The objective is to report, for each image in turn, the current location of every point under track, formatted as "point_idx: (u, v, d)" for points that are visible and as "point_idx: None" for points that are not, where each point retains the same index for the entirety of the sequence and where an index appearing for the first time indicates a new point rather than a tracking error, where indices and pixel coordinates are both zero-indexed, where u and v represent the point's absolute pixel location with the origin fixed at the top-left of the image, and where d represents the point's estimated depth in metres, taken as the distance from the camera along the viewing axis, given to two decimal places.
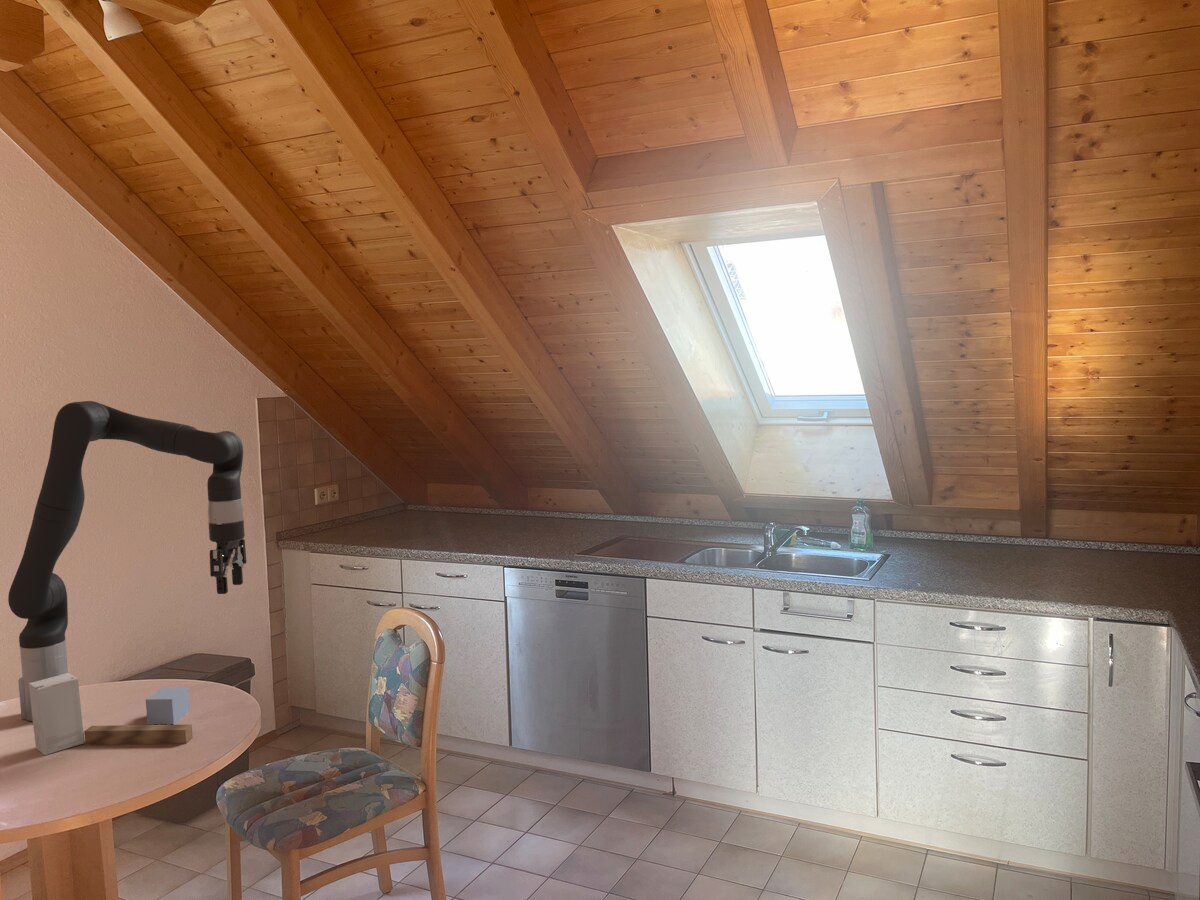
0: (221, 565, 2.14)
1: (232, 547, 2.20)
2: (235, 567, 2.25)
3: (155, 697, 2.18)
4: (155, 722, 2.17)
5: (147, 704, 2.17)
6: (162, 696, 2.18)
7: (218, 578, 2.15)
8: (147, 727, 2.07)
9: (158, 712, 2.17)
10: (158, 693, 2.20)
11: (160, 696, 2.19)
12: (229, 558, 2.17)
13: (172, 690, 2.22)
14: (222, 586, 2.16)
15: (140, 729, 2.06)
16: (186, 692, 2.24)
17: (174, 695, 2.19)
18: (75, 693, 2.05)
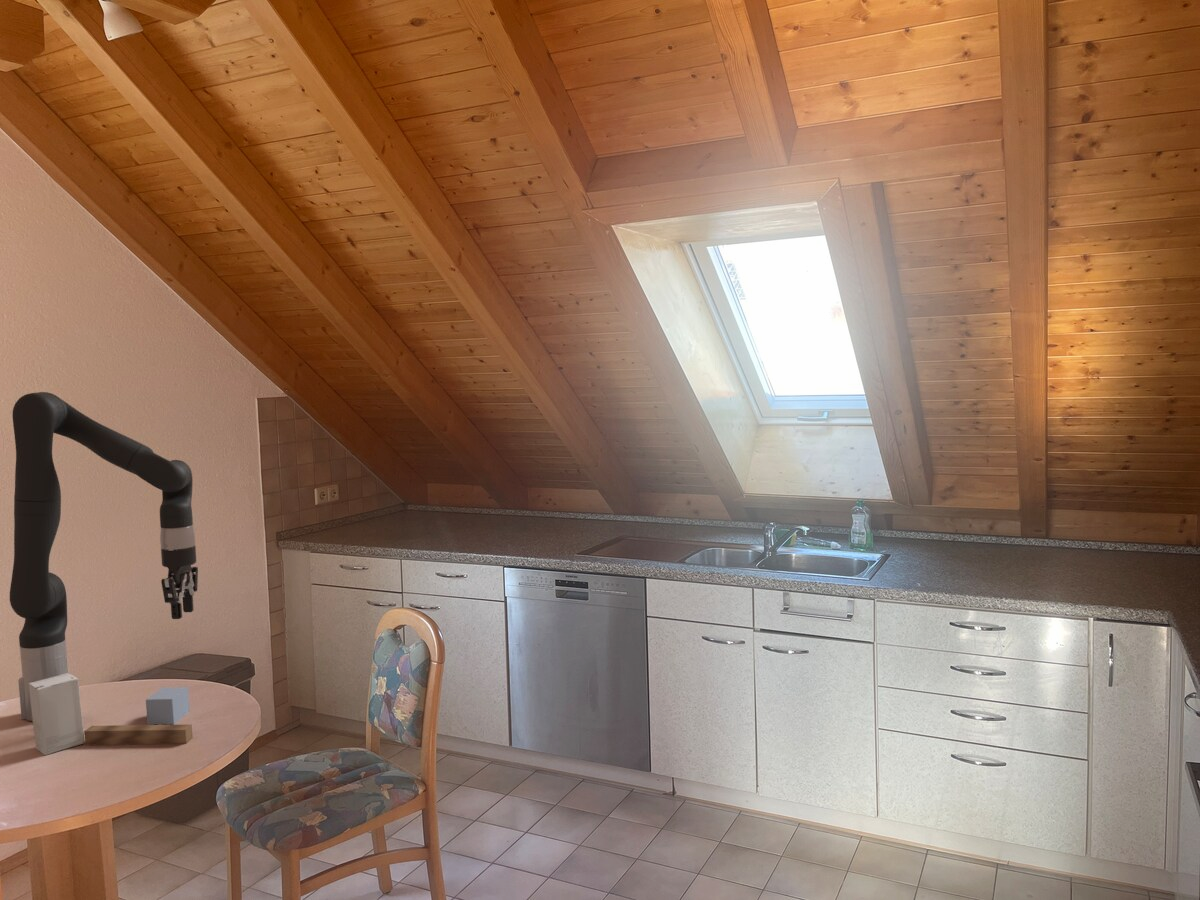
0: (174, 592, 2.23)
1: (184, 572, 2.28)
2: (186, 595, 2.31)
3: (155, 697, 2.18)
4: (155, 722, 2.17)
5: (147, 704, 2.17)
6: (162, 696, 2.18)
7: (172, 604, 2.25)
8: (147, 727, 2.07)
9: (158, 712, 2.17)
10: (158, 693, 2.20)
11: (160, 696, 2.19)
12: (181, 584, 2.26)
13: (172, 690, 2.22)
14: (176, 611, 2.25)
15: (140, 729, 2.06)
16: (186, 692, 2.24)
17: (174, 695, 2.19)
18: (75, 693, 2.05)
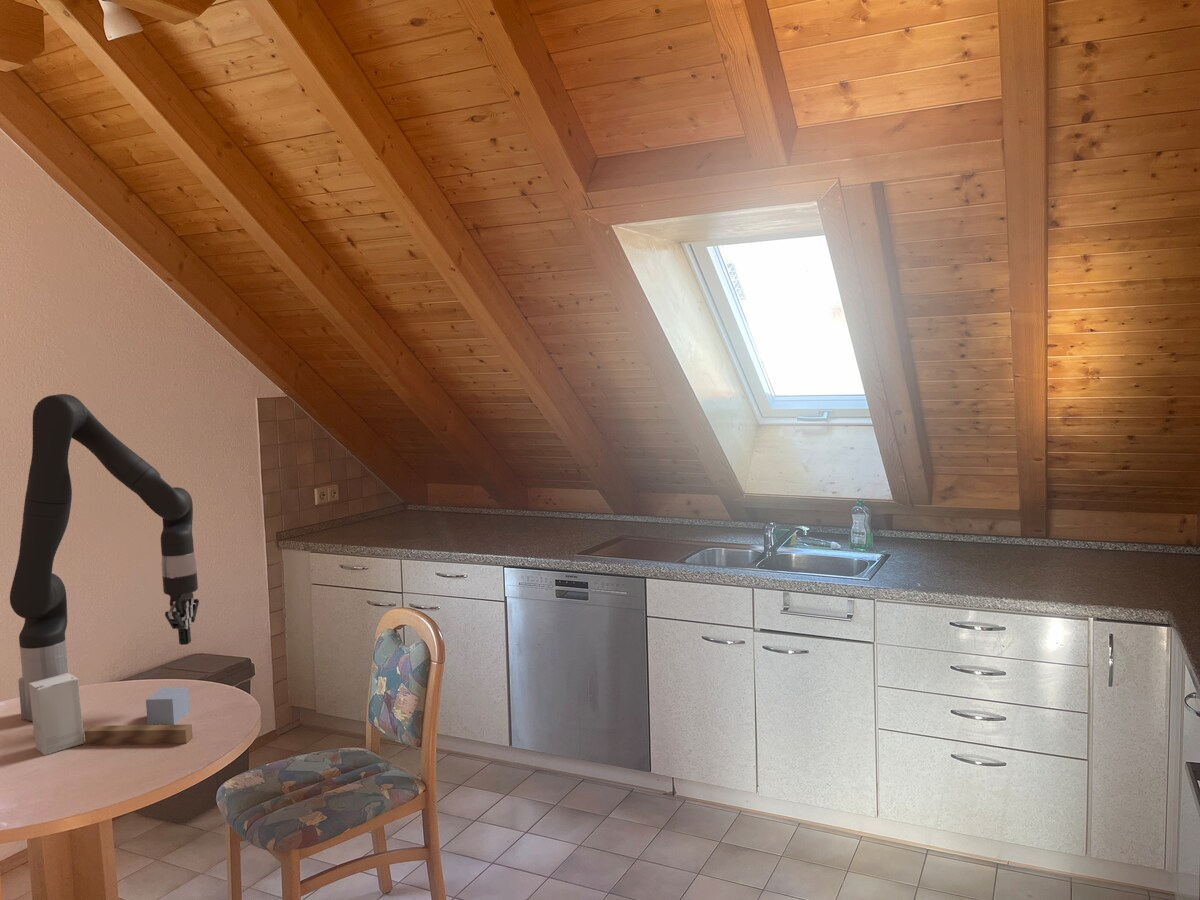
0: (180, 621, 2.25)
1: (186, 599, 2.28)
2: None
3: (155, 697, 2.18)
4: (155, 722, 2.17)
5: (147, 704, 2.17)
6: (162, 696, 2.18)
7: (180, 630, 2.28)
8: (147, 727, 2.07)
9: (159, 712, 2.17)
10: (158, 693, 2.20)
11: (160, 696, 2.19)
12: (185, 612, 2.27)
13: (172, 690, 2.22)
14: (184, 637, 2.28)
15: (140, 729, 2.06)
16: (186, 692, 2.24)
17: (174, 695, 2.19)
18: (75, 694, 2.05)
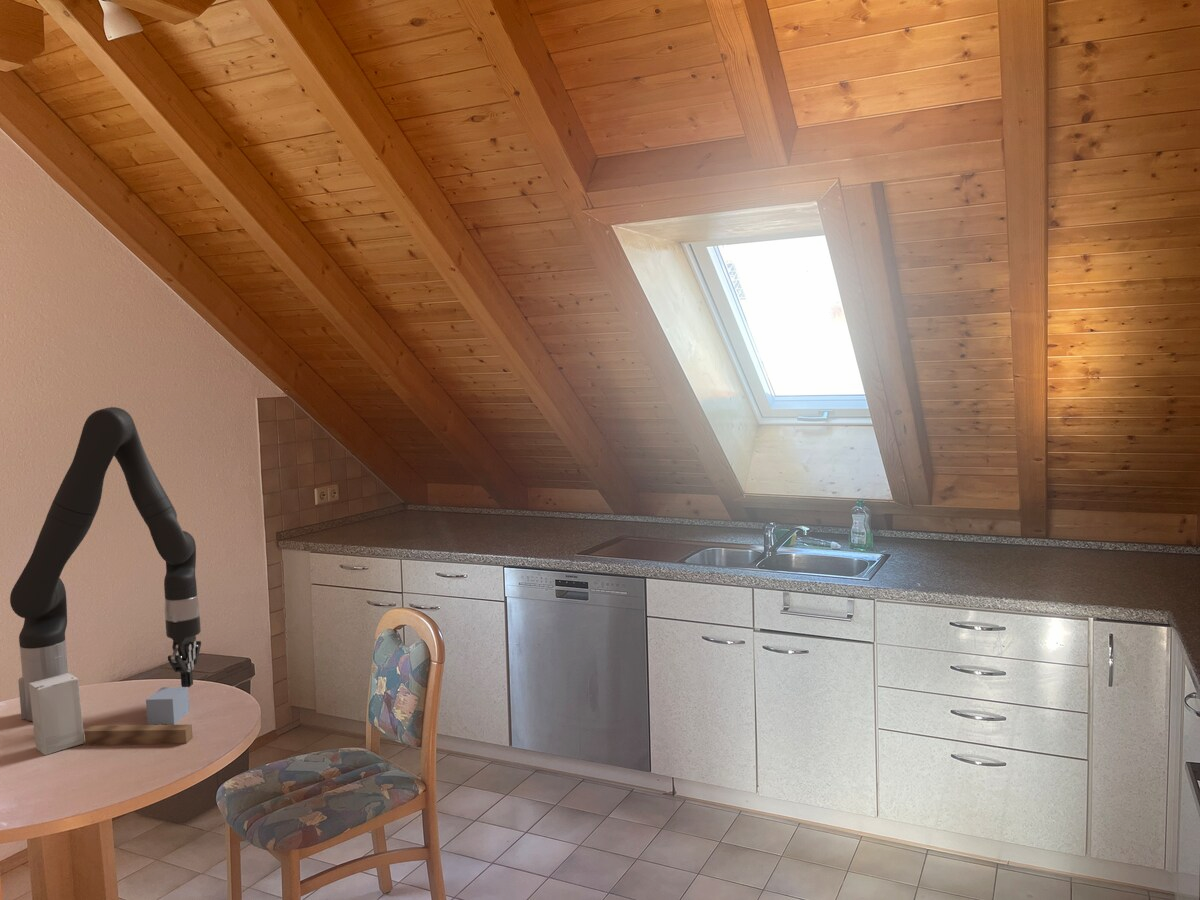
0: (182, 665, 2.26)
1: (188, 642, 2.29)
2: None
3: (155, 697, 2.18)
4: (155, 722, 2.17)
5: (147, 704, 2.17)
6: (162, 696, 2.18)
7: (182, 673, 2.29)
8: (147, 727, 2.07)
9: (159, 712, 2.17)
10: (158, 693, 2.20)
11: (160, 696, 2.19)
12: (188, 655, 2.28)
13: (172, 690, 2.22)
14: (186, 680, 2.29)
15: (140, 729, 2.06)
16: (186, 692, 2.24)
17: (174, 695, 2.19)
18: (75, 694, 2.05)
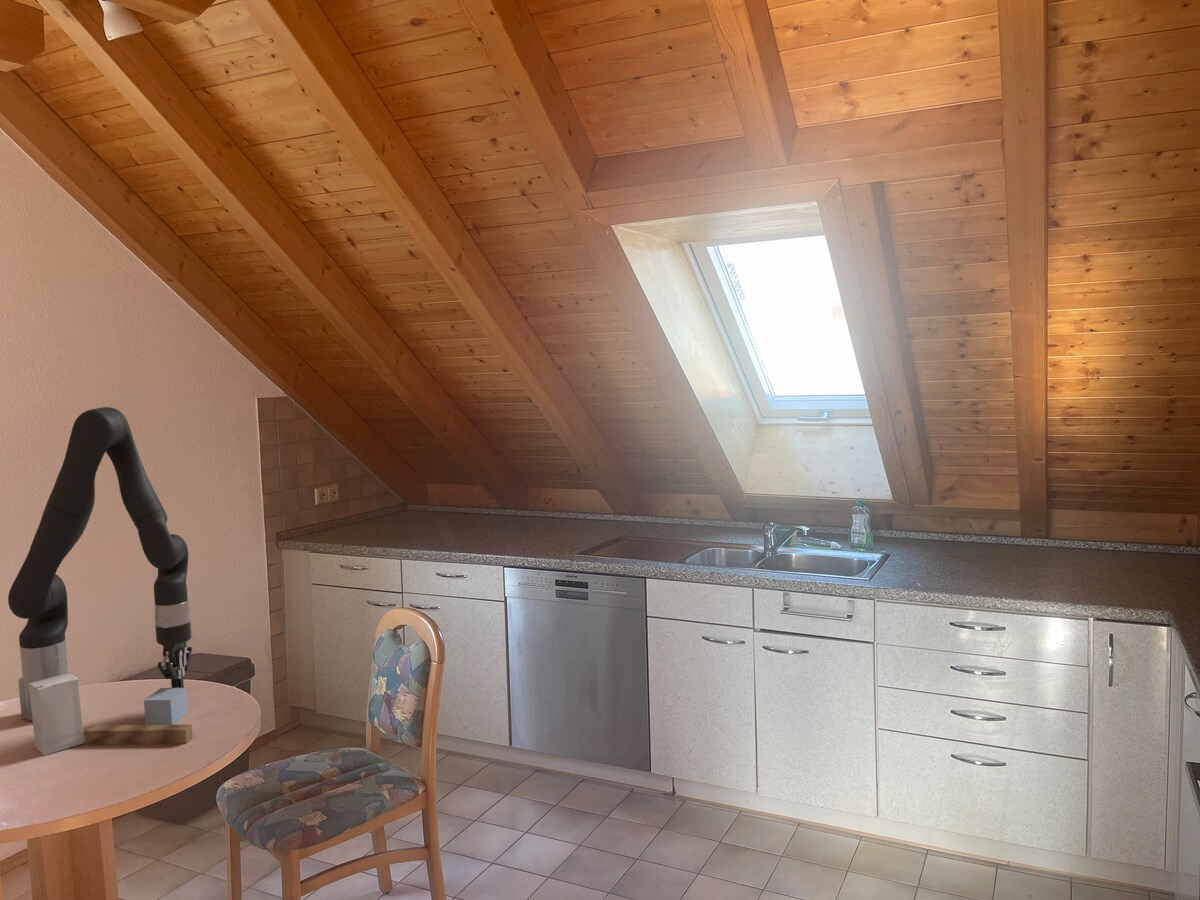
0: (173, 672, 2.21)
1: (179, 648, 2.24)
2: None
3: (153, 698, 2.17)
4: (153, 723, 2.16)
5: (145, 705, 2.16)
6: (160, 697, 2.17)
7: (173, 680, 2.24)
8: (147, 727, 2.07)
9: (157, 712, 2.16)
10: (156, 694, 2.19)
11: (158, 696, 2.18)
12: (178, 662, 2.23)
13: (170, 691, 2.21)
14: (177, 687, 2.24)
15: (140, 729, 2.06)
16: (185, 693, 2.23)
17: (172, 696, 2.18)
18: (75, 694, 2.05)
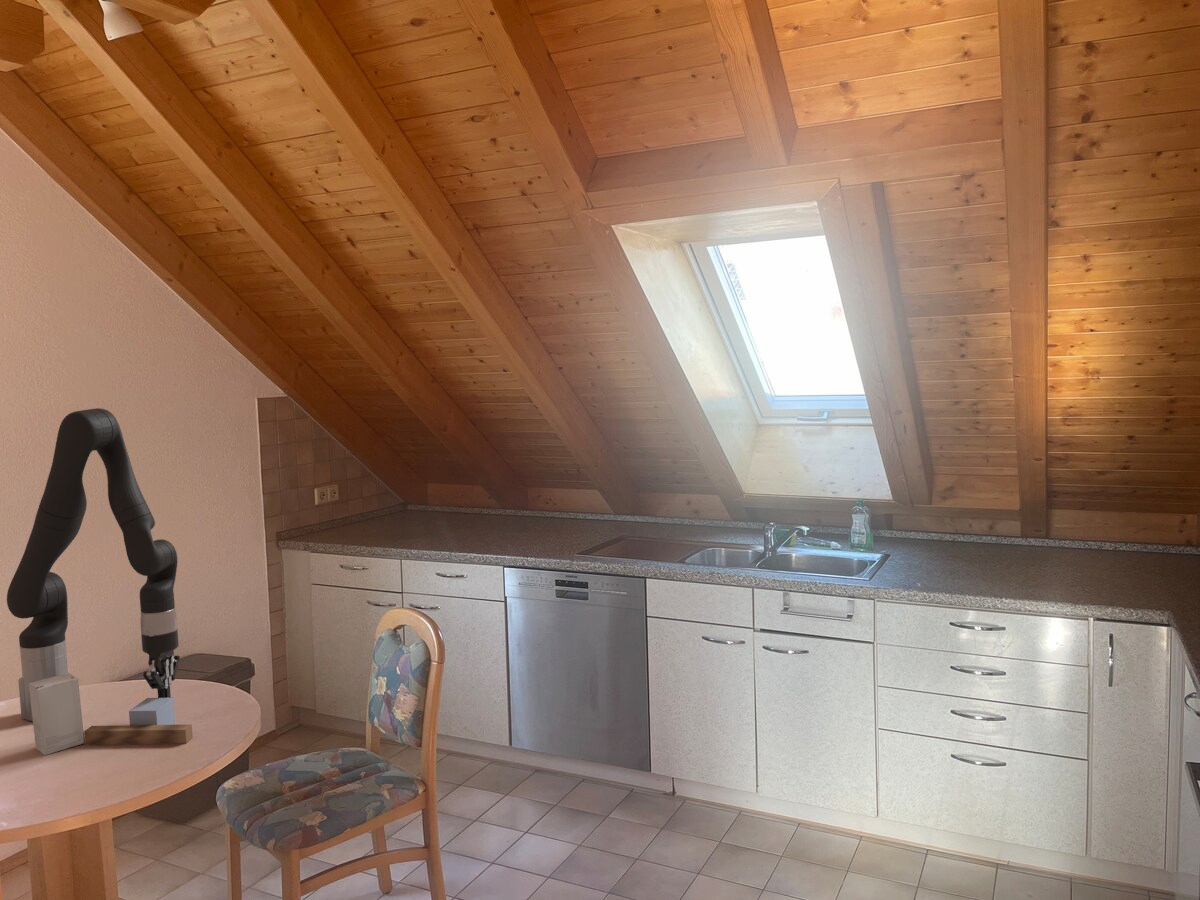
0: (159, 681, 2.15)
1: (166, 657, 2.18)
2: None
3: (139, 708, 2.10)
4: None
5: (130, 716, 2.09)
6: (146, 708, 2.11)
7: (159, 689, 2.17)
8: (147, 727, 2.07)
9: (142, 723, 2.09)
10: (142, 704, 2.13)
11: (144, 707, 2.11)
12: (165, 671, 2.17)
13: (157, 701, 2.15)
14: (163, 697, 2.18)
15: (140, 729, 2.06)
16: (172, 703, 2.16)
17: (158, 706, 2.11)
18: (75, 694, 2.05)
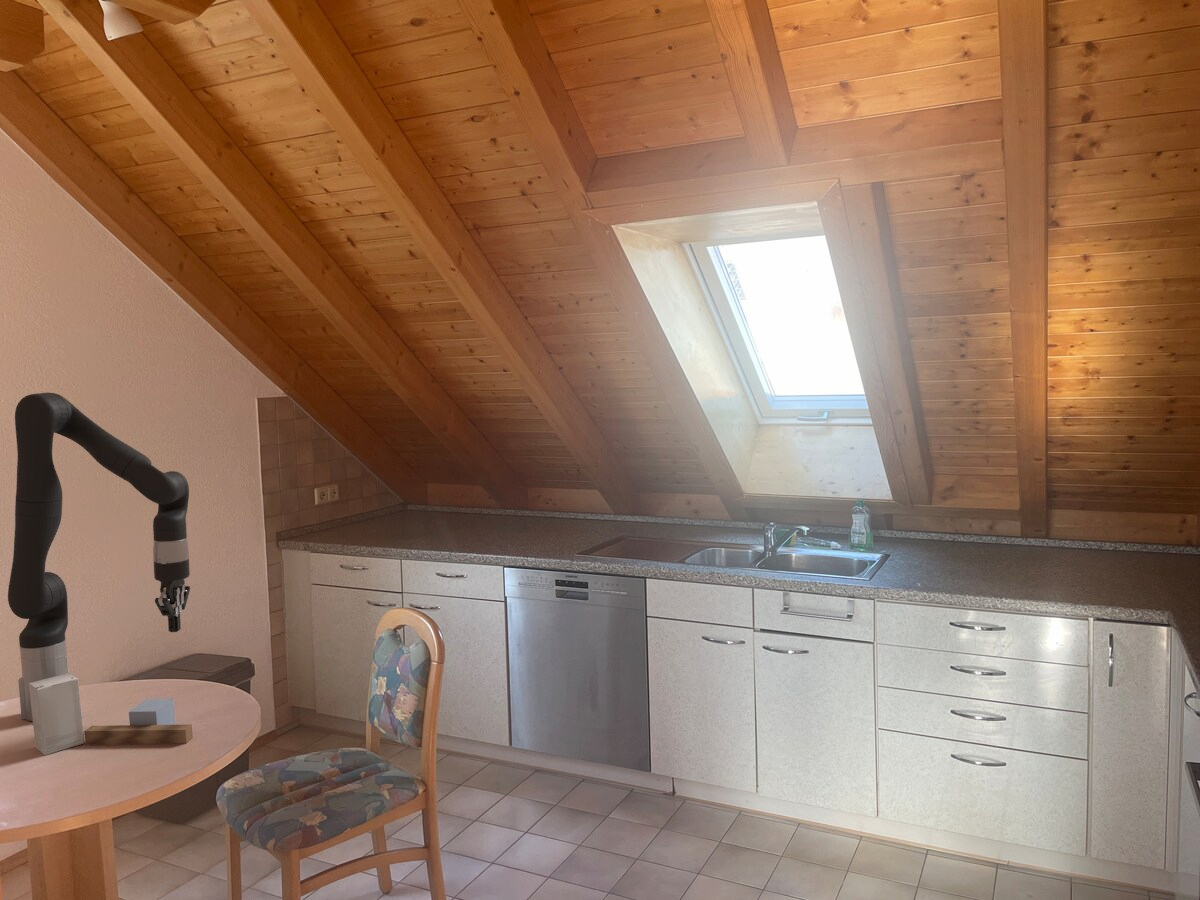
0: (170, 608, 2.20)
1: (177, 585, 2.24)
2: None
3: (139, 709, 2.10)
4: None
5: (130, 716, 2.09)
6: (146, 708, 2.11)
7: (170, 617, 2.23)
8: (147, 727, 2.07)
9: (142, 724, 2.09)
10: (142, 705, 2.13)
11: (144, 708, 2.11)
12: (176, 599, 2.22)
13: (157, 701, 2.15)
14: (173, 625, 2.23)
15: (140, 729, 2.06)
16: (172, 704, 2.16)
17: (158, 707, 2.11)
18: (75, 693, 2.05)
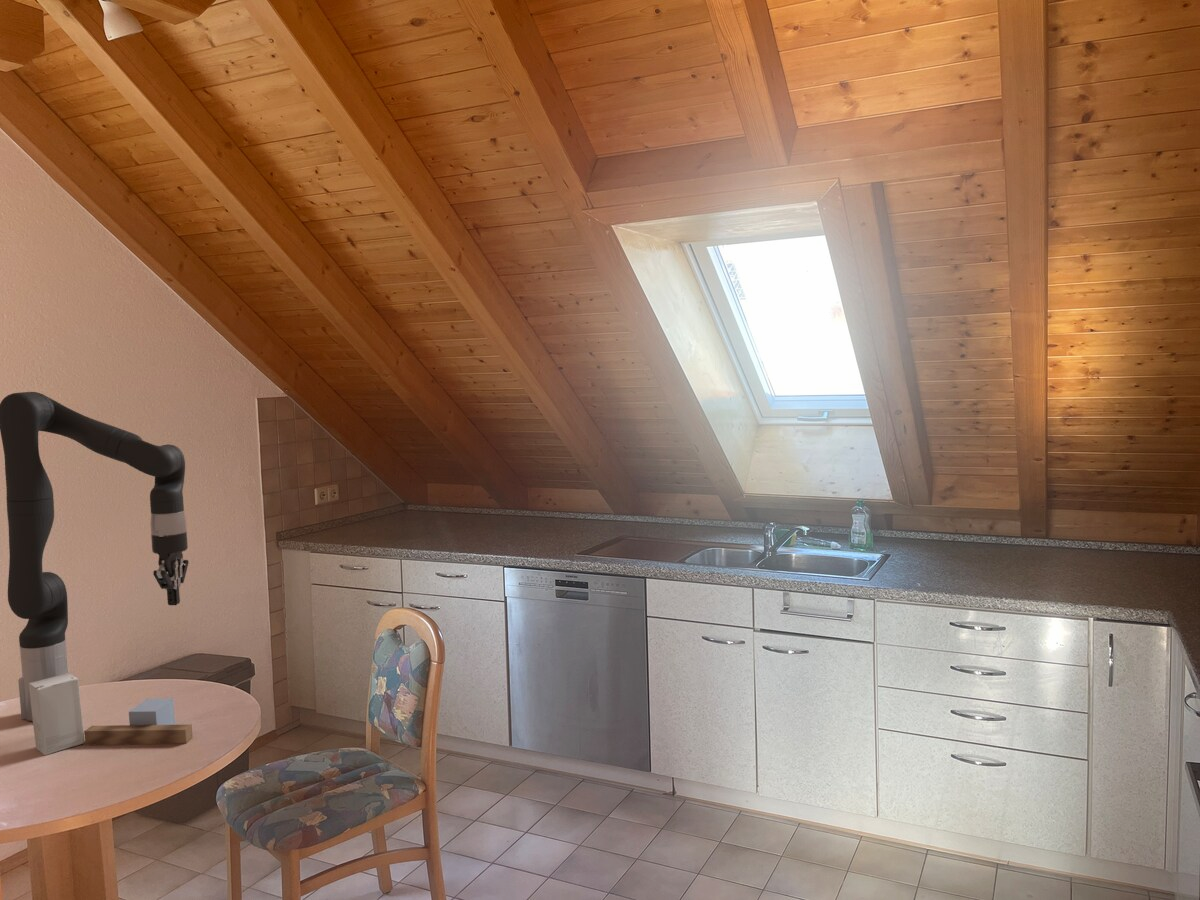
0: (169, 581, 2.20)
1: (175, 559, 2.24)
2: None
3: (139, 709, 2.10)
4: None
5: (130, 716, 2.09)
6: (146, 708, 2.11)
7: (168, 590, 2.23)
8: (147, 727, 2.07)
9: (142, 724, 2.09)
10: (142, 705, 2.13)
11: (144, 708, 2.11)
12: (174, 572, 2.22)
13: (157, 701, 2.15)
14: (172, 598, 2.23)
15: (140, 729, 2.06)
16: (172, 704, 2.16)
17: (158, 707, 2.11)
18: (75, 694, 2.05)
